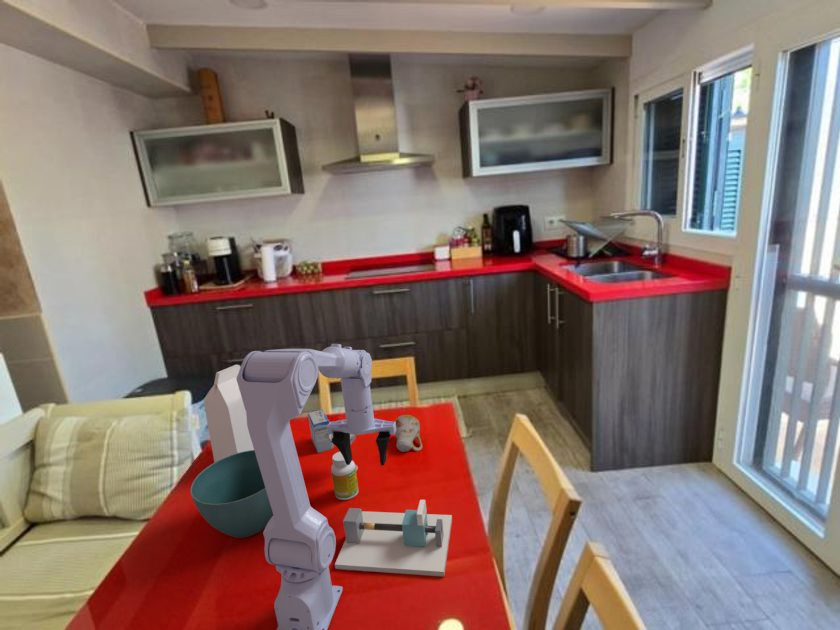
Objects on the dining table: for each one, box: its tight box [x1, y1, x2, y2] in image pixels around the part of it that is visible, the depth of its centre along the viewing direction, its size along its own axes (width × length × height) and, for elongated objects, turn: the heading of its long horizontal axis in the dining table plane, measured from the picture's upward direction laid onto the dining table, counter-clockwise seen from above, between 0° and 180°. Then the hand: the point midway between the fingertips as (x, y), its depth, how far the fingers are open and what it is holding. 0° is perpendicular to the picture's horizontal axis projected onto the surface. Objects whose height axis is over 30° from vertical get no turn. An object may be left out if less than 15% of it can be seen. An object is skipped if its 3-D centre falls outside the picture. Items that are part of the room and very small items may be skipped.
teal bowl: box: [190, 450, 273, 539], centre depth 93 cm, size 18×18×12 cm
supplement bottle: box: [330, 451, 359, 501], centre depth 100 cm, size 5×5×10 cm
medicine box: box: [307, 409, 334, 454], centre depth 122 cm, size 8×4×9 cm, turn 25°
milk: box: [203, 364, 254, 463], centre depth 116 cm, size 12×12×26 cm
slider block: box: [402, 499, 428, 546], centre depth 83 cm, size 4×4×7 cm
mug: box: [394, 414, 423, 453], centre depth 119 cm, size 8×10×10 cm
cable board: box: [334, 507, 453, 577], centre depth 84 cm, size 14×20×6 cm
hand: (366, 462), depth 95 cm, fingers open, 7 cm apart
